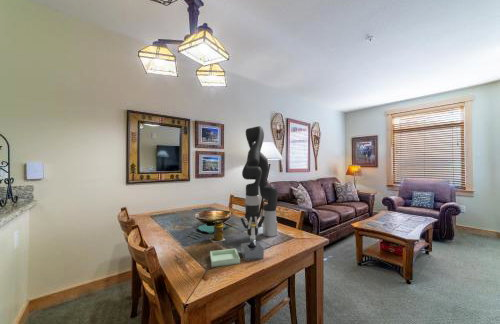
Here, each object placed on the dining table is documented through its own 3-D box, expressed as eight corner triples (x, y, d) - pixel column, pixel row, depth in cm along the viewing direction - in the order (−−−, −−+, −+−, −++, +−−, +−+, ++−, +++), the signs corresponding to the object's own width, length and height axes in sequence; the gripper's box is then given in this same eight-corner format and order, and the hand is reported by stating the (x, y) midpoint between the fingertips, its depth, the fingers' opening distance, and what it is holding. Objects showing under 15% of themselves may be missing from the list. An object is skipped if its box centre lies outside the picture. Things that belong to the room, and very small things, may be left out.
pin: (255, 243, 114) (255, 221, 114) (257, 246, 110) (257, 224, 110) (247, 244, 113) (247, 222, 113) (249, 247, 109) (249, 224, 109)
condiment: (225, 240, 133) (225, 221, 133) (213, 242, 128) (213, 223, 128) (220, 236, 139) (220, 218, 139) (208, 239, 134) (208, 220, 134)
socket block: (258, 250, 118) (258, 241, 118) (263, 258, 108) (263, 249, 108) (240, 252, 115) (240, 243, 115) (245, 260, 105) (245, 251, 105)
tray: (235, 252, 114) (235, 248, 114) (240, 263, 103) (240, 258, 103) (210, 255, 111) (210, 251, 111) (211, 267, 99) (211, 262, 99)
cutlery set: (230, 228, 156) (230, 225, 155) (198, 241, 132) (198, 238, 132) (212, 223, 168) (212, 220, 168) (180, 234, 144) (180, 231, 144)
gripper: (262, 201, 117) (262, 231, 117) (238, 202, 113) (238, 233, 113) (267, 204, 109) (267, 236, 110) (241, 205, 106) (241, 239, 106)
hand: (252, 234), depth 111 cm, fingers closed on pin, 3 cm apart
